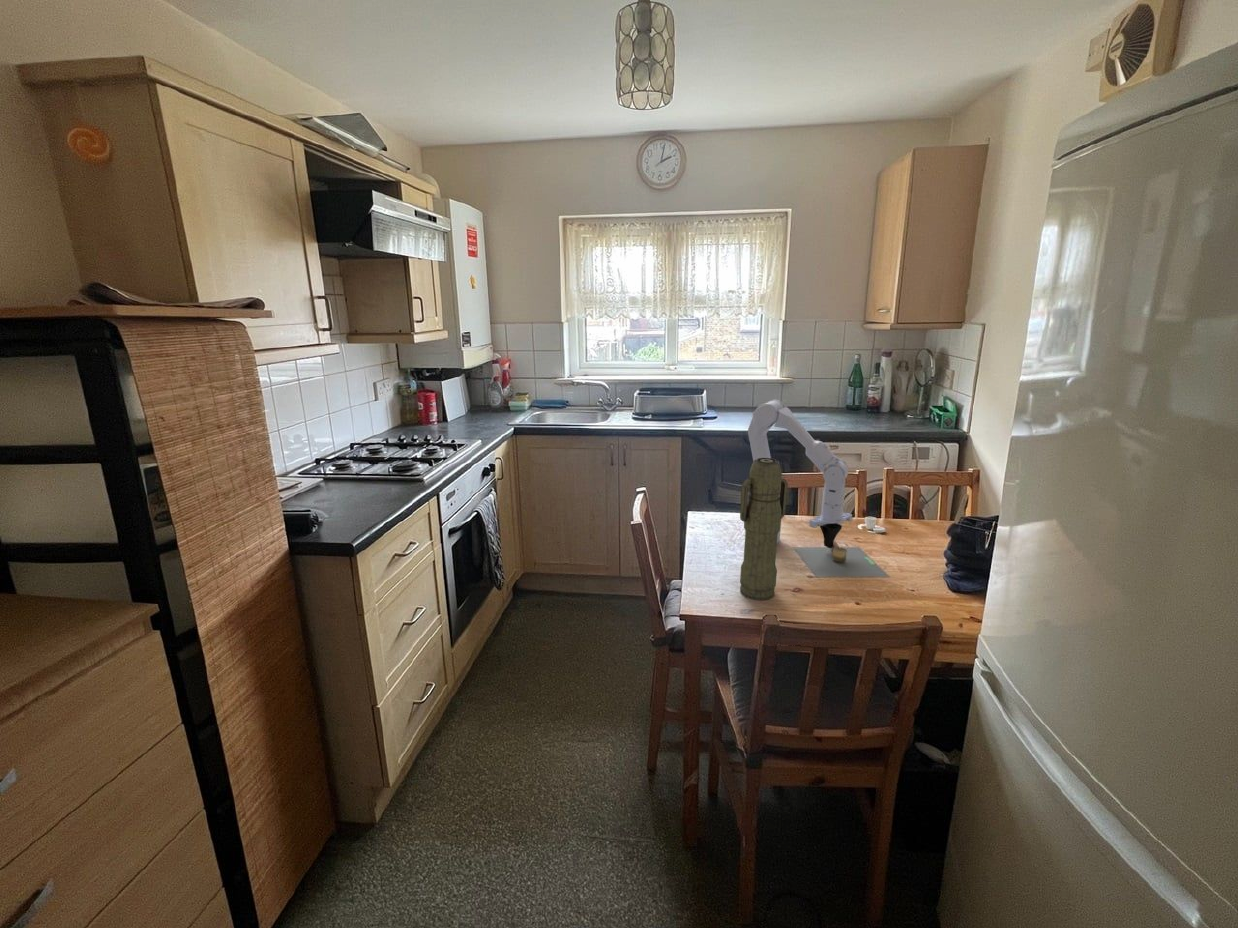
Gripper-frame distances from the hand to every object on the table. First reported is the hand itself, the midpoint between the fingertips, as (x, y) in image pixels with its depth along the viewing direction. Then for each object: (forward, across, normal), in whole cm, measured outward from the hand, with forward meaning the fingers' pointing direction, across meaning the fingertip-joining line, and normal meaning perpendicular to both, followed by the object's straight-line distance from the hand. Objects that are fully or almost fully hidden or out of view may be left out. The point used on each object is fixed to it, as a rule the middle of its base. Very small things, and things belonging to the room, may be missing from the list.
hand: (828, 546), depth 168 cm
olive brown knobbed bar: (+1, 0, -3) cm, 4 cm away
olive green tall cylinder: (+3, -33, -9) cm, 34 cm away
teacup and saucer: (+3, +27, +9) cm, 29 cm away
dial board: (+3, -2, -6) cm, 7 cm away
